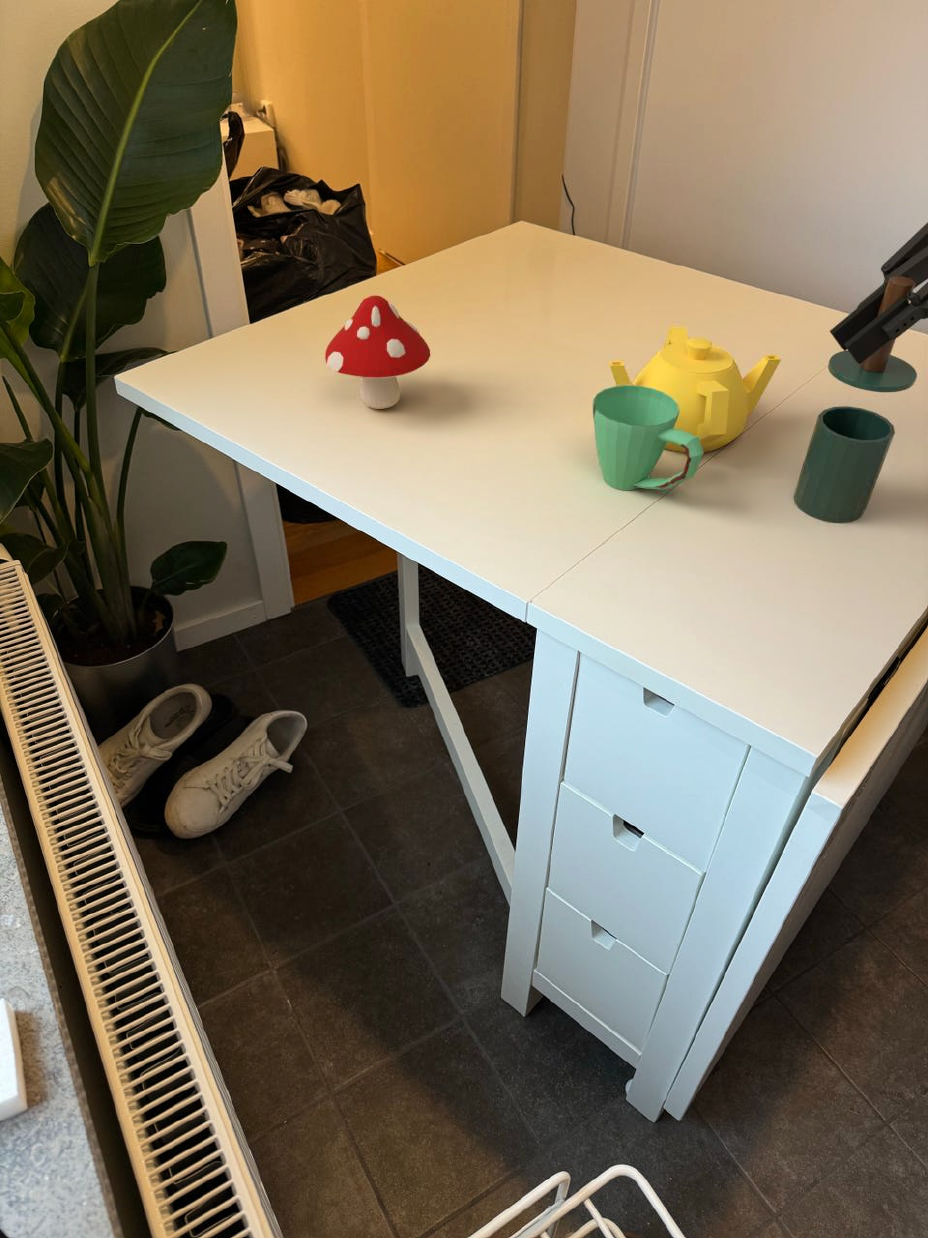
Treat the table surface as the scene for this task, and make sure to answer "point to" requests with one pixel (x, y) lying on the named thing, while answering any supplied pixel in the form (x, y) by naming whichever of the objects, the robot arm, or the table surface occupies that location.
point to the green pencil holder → (843, 463)
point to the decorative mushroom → (377, 351)
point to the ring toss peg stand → (878, 355)
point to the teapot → (702, 387)
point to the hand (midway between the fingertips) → (844, 347)
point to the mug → (639, 437)
